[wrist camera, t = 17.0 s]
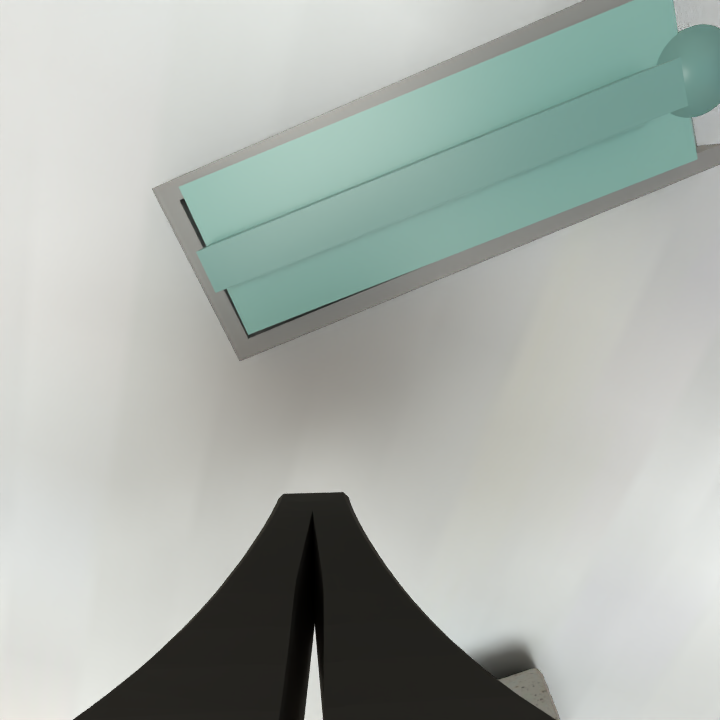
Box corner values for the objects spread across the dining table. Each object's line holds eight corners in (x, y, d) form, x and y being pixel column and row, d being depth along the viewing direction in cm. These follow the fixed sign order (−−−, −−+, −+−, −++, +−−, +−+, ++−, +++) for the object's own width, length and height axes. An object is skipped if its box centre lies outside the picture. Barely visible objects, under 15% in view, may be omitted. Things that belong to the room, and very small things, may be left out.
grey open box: (654, -24, 17) (691, -47, 15) (688, 163, 19) (725, 162, 17) (168, 188, 18) (151, 188, 16) (246, 345, 20) (239, 361, 18)
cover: (707, -28, 15) (775, -66, 13) (730, 142, 17) (795, 135, 15) (184, 186, 16) (160, 187, 14) (250, 329, 18) (240, 351, 15)
